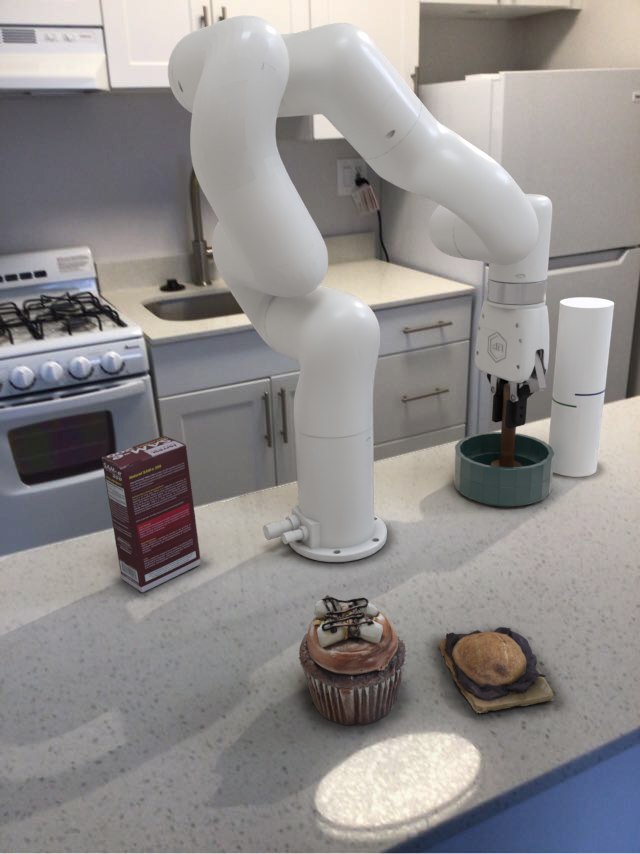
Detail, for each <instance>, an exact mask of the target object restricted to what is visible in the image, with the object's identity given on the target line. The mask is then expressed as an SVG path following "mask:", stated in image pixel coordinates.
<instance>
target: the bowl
mask: <svg viewBox="0 0 640 854" xmlns="http://www.w3.org/2000/svg"><path fill="white" fill-rule="evenodd" d="M500 443H501V431H489V432H479V433H475V434H471V435H468V436H465V437H464V438H462V439H460V440H458V442H457V443H456V444H455V445H454V467H453V468H454V469H453V472H454V473H453V485H454V488H455V489H456V490H457V492H458V493H460V494H462V495H463V496H464V497H466V498H468V499H469V500H472V501H475V502H478V503H481V504H484V505H489V506H493V507H508V508H510V507H512V508H513V507H521V506H527V505H530V504H531V505H532V504H534V503H537V502H541V501H542V500H544V499H545V498H547V497H548V496H549V495H550V493H551V490H552V486H553V476H554V475H553V474H554V472H553V463H554V452H553V449H552V447H551V446H549V443H547V442H545V441H544V440H542V439H540V438H537V437H534V436H531V435H526V434H523V433H517V432H516V436H515V451H514V461H517V462H519V463H520V464H521V465H522V467H497V466H491V463H492V462H493V461H495V460H499V459H500Z"/></svg>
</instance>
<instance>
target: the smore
mask: <svg viewBox="0 0 640 854" xmlns="http://www.w3.org/2000/svg"><path fill="white" fill-rule="evenodd" d="M438 648H439V649H440V651H441V656H444V658H443V659H444V660H445V665H446V666H447V668H448V669H450V672H451V677H452V679H453V681H454V682H455V683H456V685H457V687H459V689H460V692H461V693H462V695H463V696H464V697H465V699H467V701H468V703H469V704H470V706H471V707H472V709H473V710H474V711H475V713H476V714H478V713H479V714H481V713H488V712H489V711H494V712H495V711H498V710H502V709H507V708H508V709H510V708H513V707H517V706H519V707H524V706H529V705H534V704H538V703H544V702H550V701H551V702H552V701H555V698H554V692H553V690H552V688H551V687H550V685H549V683H548V682H547V680H546V679H545V677H547V675H546V674H543V673H541V671H540V669H539V667H538V666H537V663H538V660H537V656H536V655H535V654H534V653H533V650H532V647H531V646H530V644H529V641H528V640H527V639H526V638H525V637H524V636H523V635H521V634H519V633H517V632H515V631H512V630H511V627H505V626H499V627H497V628H495V629H494V630H493V631H483V632H482V631H480V630H479V629H477V630H474V631H471V632H469V633H455V632H449V633H448V632H446V635H445V638H443V639H441V640H440V641H439V644H438Z"/></svg>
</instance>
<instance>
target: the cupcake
mask: <svg viewBox="0 0 640 854" xmlns="http://www.w3.org/2000/svg"><path fill="white" fill-rule="evenodd" d="M342 603H344V604H342ZM350 603H351V604H350ZM313 614H314V616H315V617H313V619H312V621H311V622H310V624H309V626H308V629H307V633H305V635H304V636H303V638H302V640H301V643H300V646H299V650H298V651H299V652H298V654H299V656H298V659H299V662H300V663H299V664H300V667H301V668H302V672H303V675H304V676H305V679H306V681H307V685H308V688H309V692H310V696H311V699H312V702H313V703H314V707H315V708H316V710H317V711H318V712H319V713H320V715H321V716H323V718H325V719H327V720H329V721H330V722H331V721H332V722H334V723H335V724H340V725H344V726H356V725H361V726H364V725H369V724H374V723H376V722H377V721H380V720H381V719H383V718H385V717H387V716H388V715H389V713H390V712H391V711H392V710H393V708H394V706H395V705H396V702H397V698H398V694H399V690H400V687H401V681H402V677H403V673H404V669H405V666H406V664H407V663H406V660H407V649H406V648H407V646H406V643H405V642H404V641H405V640H404V639H401V636H398V633H397V630H396V629H395V627H394V625H393V624H392V622H391V621H390V620H389V618H387V616H386V615H385V614H384V613H382V612H380V611H379V610H378V608H377V607H376V605H374V604H372V603H370V602H369V600H368V598H366V597H357V598H355V597H354V598H351V599H346V600H342V599H338V598H335V597H333V596H330V595H328V594H326V596H325V597H323V598H321V600H318V601H316V603H315V604H314V611H313Z"/></svg>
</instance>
